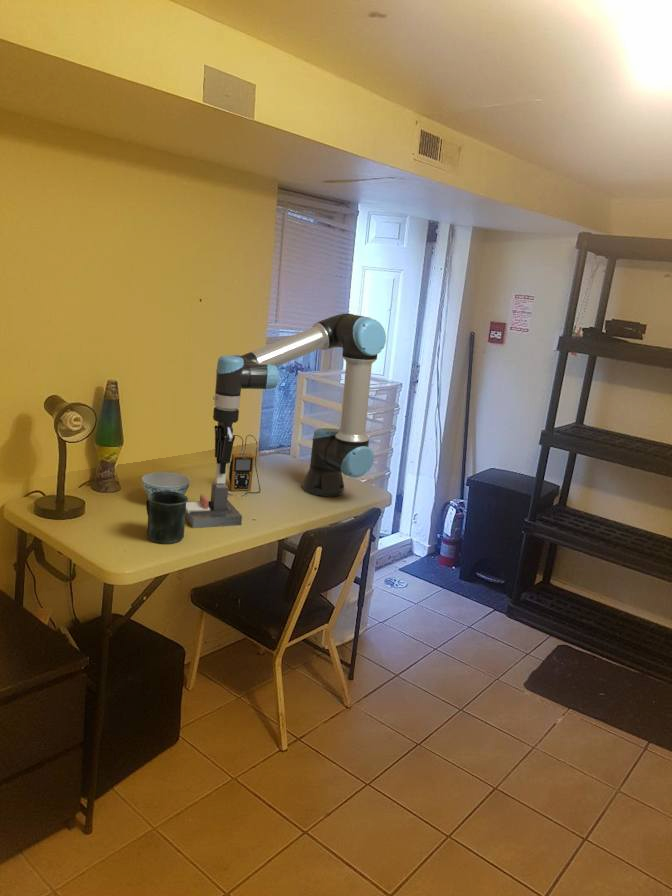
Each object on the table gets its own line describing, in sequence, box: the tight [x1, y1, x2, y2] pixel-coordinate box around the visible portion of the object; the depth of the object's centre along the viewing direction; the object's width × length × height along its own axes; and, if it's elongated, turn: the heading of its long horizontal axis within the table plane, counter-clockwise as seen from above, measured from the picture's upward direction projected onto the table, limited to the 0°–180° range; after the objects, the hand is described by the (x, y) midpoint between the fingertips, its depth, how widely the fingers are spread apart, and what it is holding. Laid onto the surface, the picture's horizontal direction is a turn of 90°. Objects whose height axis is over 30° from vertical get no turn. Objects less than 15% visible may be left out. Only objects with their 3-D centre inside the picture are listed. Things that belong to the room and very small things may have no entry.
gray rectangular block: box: [210, 482, 229, 510], centre depth 215 cm, size 4×4×11 cm
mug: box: [145, 491, 189, 545], centre depth 196 cm, size 11×15×12 cm
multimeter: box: [228, 434, 261, 498], centre depth 238 cm, size 15×10×20 cm
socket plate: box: [185, 499, 243, 529], centre depth 214 cm, size 15×14×4 cm
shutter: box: [186, 494, 210, 513], centre depth 212 cm, size 7×7×3 cm
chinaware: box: [141, 471, 191, 496], centre depth 222 cm, size 15×15×8 cm
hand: (220, 482), depth 214 cm, fingers closed
